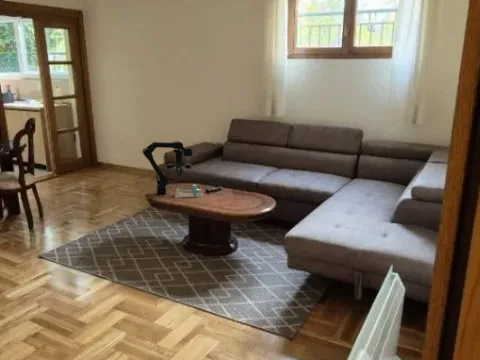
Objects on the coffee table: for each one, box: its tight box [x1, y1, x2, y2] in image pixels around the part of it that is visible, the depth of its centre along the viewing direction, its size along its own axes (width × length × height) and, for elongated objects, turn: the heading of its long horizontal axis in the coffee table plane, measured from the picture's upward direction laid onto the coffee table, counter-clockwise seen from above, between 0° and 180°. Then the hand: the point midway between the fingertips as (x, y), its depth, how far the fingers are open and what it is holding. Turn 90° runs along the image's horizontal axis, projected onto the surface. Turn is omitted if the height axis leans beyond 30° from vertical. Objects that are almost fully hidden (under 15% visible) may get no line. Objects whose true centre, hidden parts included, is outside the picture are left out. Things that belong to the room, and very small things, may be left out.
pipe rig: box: [174, 187, 204, 198], centre depth 323 cm, size 21×8×5 cm, turn 94°
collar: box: [192, 183, 198, 195], centre depth 322 cm, size 3×5×7 cm, turn 4°
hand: (179, 176), depth 330 cm, fingers closed
